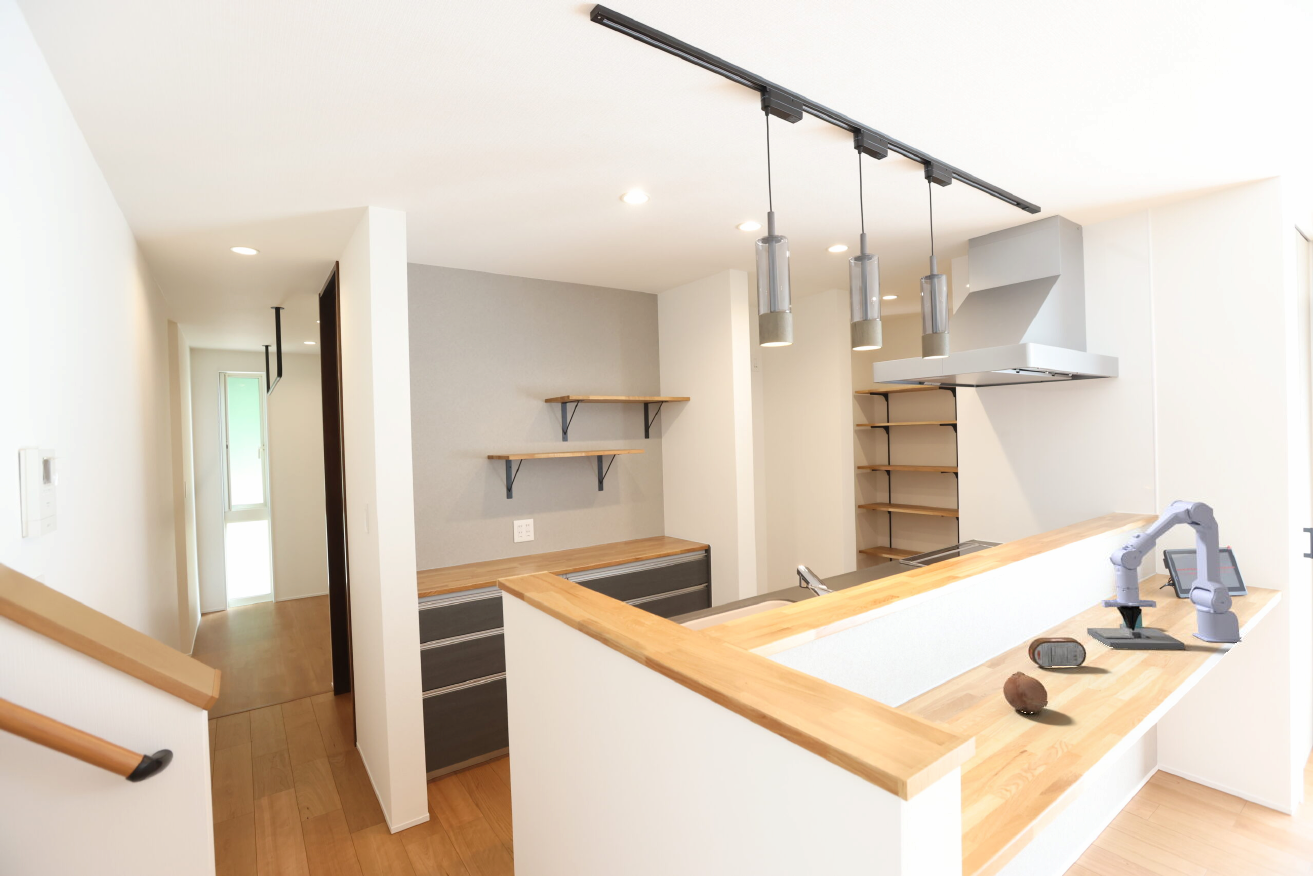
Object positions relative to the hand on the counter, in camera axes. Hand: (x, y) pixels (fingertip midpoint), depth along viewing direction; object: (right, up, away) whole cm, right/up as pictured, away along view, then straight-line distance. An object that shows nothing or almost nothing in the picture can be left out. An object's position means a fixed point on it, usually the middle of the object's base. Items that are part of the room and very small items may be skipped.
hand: (1130, 629), depth 202 cm
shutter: (-5, -2, +1) cm, 5 cm away
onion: (-61, -6, -47) cm, 77 cm away
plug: (+11, -4, +14) cm, 18 cm away
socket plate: (+1, -4, 0) cm, 4 cm away
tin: (-35, -5, -19) cm, 40 cm away
